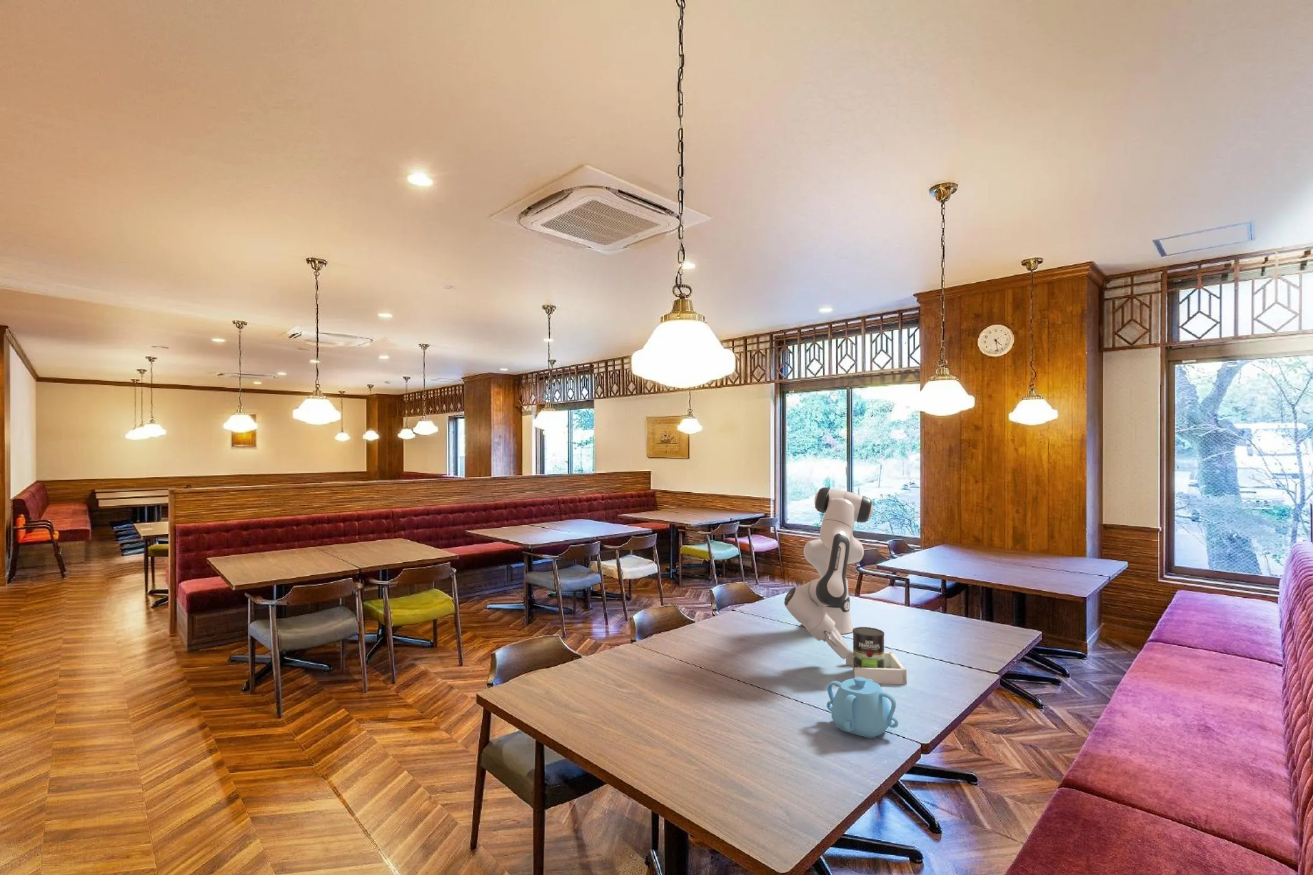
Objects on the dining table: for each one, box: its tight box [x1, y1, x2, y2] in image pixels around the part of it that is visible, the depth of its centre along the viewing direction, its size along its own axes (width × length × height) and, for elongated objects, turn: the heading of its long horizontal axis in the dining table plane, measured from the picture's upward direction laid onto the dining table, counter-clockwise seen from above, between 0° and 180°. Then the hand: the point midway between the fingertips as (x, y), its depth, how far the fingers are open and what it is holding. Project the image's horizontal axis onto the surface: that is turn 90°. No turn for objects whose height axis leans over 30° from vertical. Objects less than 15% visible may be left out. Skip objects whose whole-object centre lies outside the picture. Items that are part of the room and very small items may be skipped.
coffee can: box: [852, 626, 885, 672], centre depth 197 cm, size 10×10×14 cm
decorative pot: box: [826, 677, 899, 739], centre depth 157 cm, size 16×16×14 cm
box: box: [845, 650, 908, 685], centre depth 196 cm, size 16×17×4 cm
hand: (852, 656), depth 197 cm, fingers closed, pressing on coffee can
